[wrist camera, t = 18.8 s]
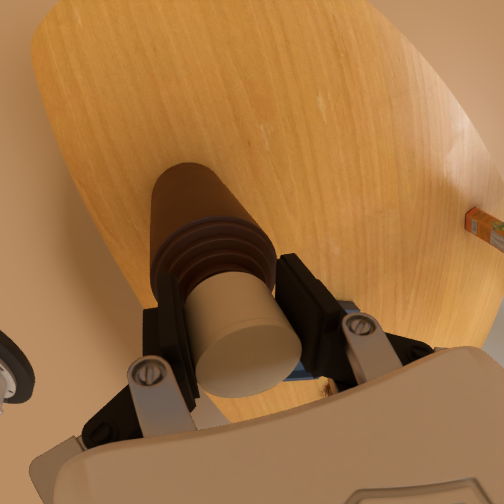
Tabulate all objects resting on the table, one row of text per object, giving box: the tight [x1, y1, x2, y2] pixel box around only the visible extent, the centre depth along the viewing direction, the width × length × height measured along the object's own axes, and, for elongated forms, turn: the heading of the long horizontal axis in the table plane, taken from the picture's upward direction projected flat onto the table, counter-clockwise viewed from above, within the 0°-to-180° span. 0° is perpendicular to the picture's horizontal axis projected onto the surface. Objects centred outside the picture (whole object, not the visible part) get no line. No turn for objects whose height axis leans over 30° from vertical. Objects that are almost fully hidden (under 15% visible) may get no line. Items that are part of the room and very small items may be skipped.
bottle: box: [150, 163, 277, 309], centre depth 18 cm, size 6×6×18 cm
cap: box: [183, 272, 302, 398], centre depth 11 cm, size 4×4×3 cm
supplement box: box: [465, 207, 504, 253], centre depth 34 cm, size 3×4×10 cm
